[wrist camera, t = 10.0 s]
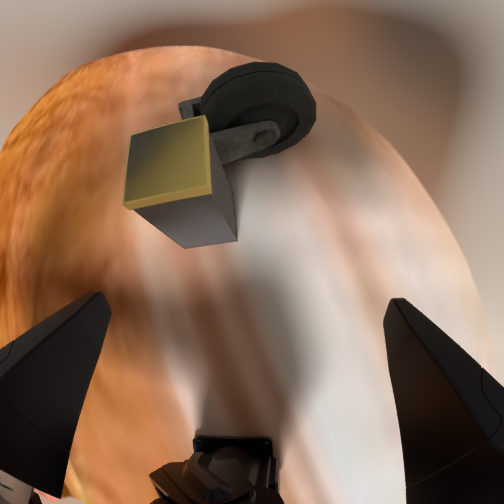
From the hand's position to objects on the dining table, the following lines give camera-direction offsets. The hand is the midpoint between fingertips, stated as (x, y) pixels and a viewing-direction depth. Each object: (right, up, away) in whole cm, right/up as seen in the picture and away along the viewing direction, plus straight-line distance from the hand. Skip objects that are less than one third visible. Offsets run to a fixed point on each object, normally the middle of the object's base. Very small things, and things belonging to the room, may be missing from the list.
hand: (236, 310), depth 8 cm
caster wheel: (-2, +11, +17) cm, 20 cm away
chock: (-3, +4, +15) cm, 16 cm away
